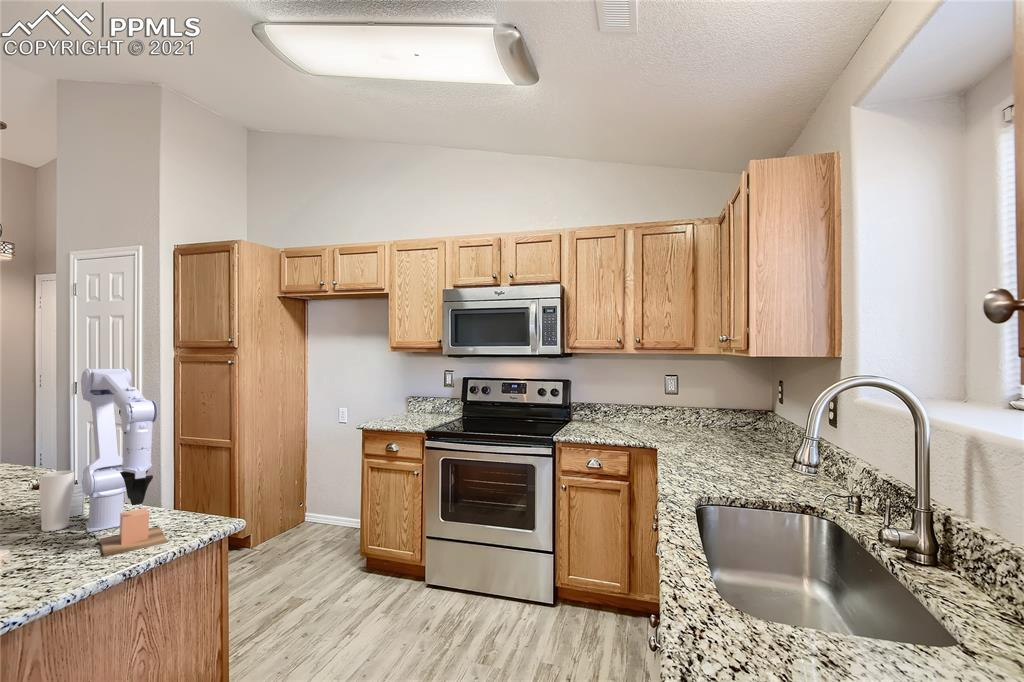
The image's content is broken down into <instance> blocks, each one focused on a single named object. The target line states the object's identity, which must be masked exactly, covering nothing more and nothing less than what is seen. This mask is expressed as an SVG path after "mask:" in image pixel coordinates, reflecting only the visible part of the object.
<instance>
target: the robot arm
mask: <svg viewBox="0 0 1024 682" xmlns="http://www.w3.org/2000/svg"><path fill="white" fill-rule="evenodd" d="M131 382H132V373H131V371H130V369H129V368H127V367H123V368H89V367H88V368H86V369H84V370H83V372H82V373H81V379H80V386H81V397H82V399H83V400H84V401H87V402H89V404H90V408H91V414H92V427H93V428H92V429H93V440H94V452H95V453H94V454H95V456H94V457H95V460H93V461H92V462H90V463H89V464H88V465H87V466H85V467H84V468H83V471H82V480H81V484H82V490H83V493H84V494H85V495H86V496H87V497H89V508H88V509H89V510H88V520H87V521H85V526H86V532H87V533H92V532H96V531H97V532H98V531H102V530H106V529H107V530H108V529H112V528H117V527H118V528H120V513H121V512H125V511H124V507H125V506H124V505H125V492H126V495H127V499H128V500H129V501H130V504H131V506H138V505H142V504H143V503H144V500H145V497H146V493H147V490H148V489H149V488H148V487H149V485H150V483H151V482H152V480H153V478H154V475H152V474H151V475H147V473H148V472H149V470H150V469H151V468H152V467H153V463H152V446H153V423H154V422H156V420H157V419H158V415H159V412H158V411H159V410H158V405H157V402H156V401H155V400H154V399H146V398H145V397H144V396H143V394H142V393H141V391H140V390H139V389H138V388H136V387H134V386H131V384H132V383H131ZM114 404H115V405H116V407H117V408H118V410H119V411H120V412H119V415H120V416H119V417H120V422H121V431H122V432H123V439H122V440H123V443H122V456H121V455H119V451H118V440H117V429H116V427H117V426H116V416H115V405H114Z"/></svg>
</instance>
